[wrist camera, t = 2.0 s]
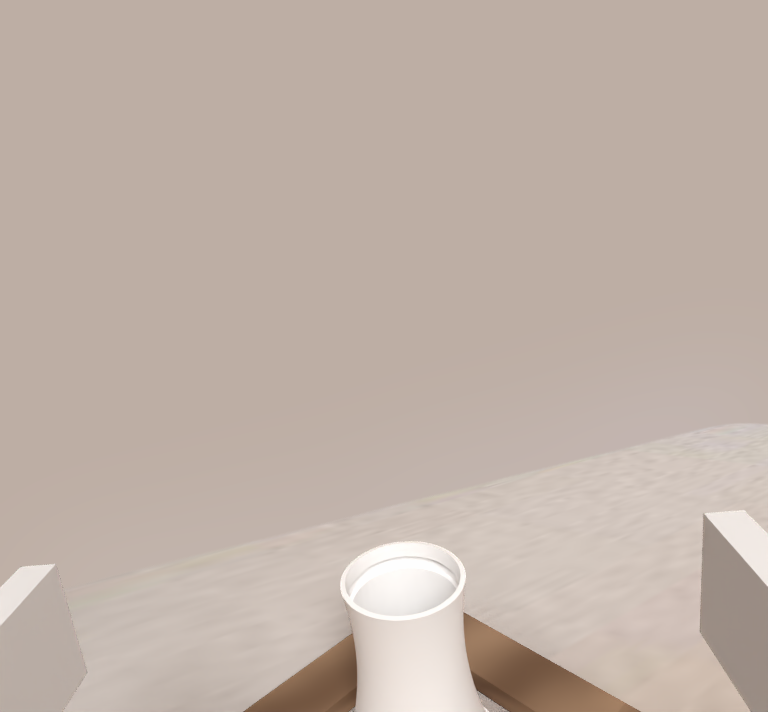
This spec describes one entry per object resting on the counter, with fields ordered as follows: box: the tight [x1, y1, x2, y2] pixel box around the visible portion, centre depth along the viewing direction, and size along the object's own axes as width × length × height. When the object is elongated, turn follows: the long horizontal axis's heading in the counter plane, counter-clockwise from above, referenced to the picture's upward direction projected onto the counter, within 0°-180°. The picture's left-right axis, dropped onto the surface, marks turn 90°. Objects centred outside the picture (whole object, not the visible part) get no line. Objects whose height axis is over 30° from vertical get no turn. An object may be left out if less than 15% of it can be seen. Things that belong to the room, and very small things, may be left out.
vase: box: [340, 541, 489, 712], centre depth 26 cm, size 8×8×10 cm
